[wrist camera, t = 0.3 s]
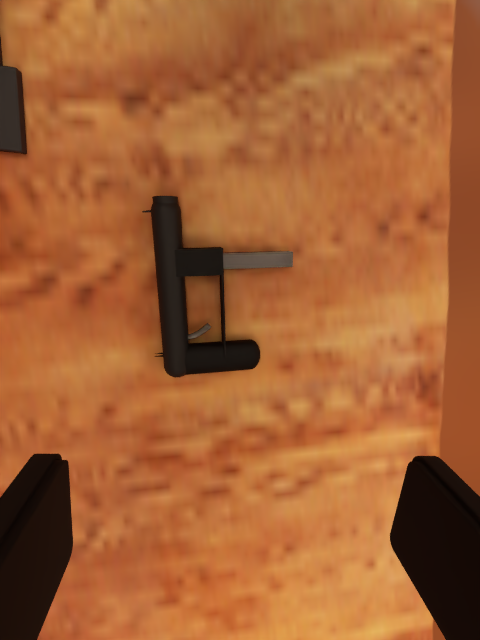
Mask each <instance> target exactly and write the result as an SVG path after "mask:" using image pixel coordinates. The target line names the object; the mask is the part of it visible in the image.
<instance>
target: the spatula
mask: <svg viewBox="0 0 480 640" xmlns="http://www.w3.org/2000/svg"><path fill="white" fill-rule="evenodd" d="M0 151H6V152H14V153H23V154H27V150H26V135H25V120H24V105H23V90H22V75H21V72H20V71H19V70H18V69H17V68H14V67H8V66H3V64H2V51H1V39H0Z"/></svg>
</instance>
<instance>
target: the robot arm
mask: <svg viewBox="0 0 480 640" xmlns="http://www.w3.org/2000/svg"><path fill="white" fill-rule="evenodd" d="M390 541H391V545H392V548H393V550H394V552H395V554H396V555H397V557H398V559H399V560H400V562H401V564H402V566H403V567H404V569H405V571H406V572H407V574H408V576H409V577H410V579H411V581H412V583H413V584H414V586H415V588H416V589H417V591H418V593H419V595H420V596H421V598H422V600H423V601H424V603H425V605H426V606H427V608H428V610H429V612H430V613H431V615H432V617H433V618H434V620H435V622H436V623H437V625H438V627H439V628H440V630H441V632H442V633H443V635H444V637H445V639H446V640H480V497H479V496H478V495H477V494H476V493H475V492H474V491H473V490H472V489H471V488H470V487H469V486H468V485H467V484H466V483H465V482H464V481H463V480H462V479H461V478H460V477H459V476H458V475H457V474H456V473H455V472H454V471H453V470H452V469H451V468H450V467H449V466H448V465H447V464H446V463H445V462H444V461H443V460H441V459H440V458H439V457H436V456H416V457H414V458H413V460H412V462H410V463H409V464H408V466H407V470H406V474H405V478H404V482H403V486H402V490H401V494H400V498H399V502H398V506H397V509H396V513H395V517H394V521H393V525H392V529H391V533H390ZM72 547H73V535H72V517H71V500H70V482H69V465H68V461H67V460H62V458H61V455H60V454H34V455H33V456H32V457H31V458H30V459H29V461H28V462H27V463H26V465H25V466H24V467H23V468H22V470H21V471H20V472H19V474H18V475H17V476H16V478H15V479H14V480H13V482H12V483H11V484H10V486H9V487H8V488H7V489H6V491H5V492H4V493H3V495H2V496H1V497H0V640H37V638H38V636H39V633H40V631H41V628H42V626H43V623H44V621H45V618H46V616H47V614H48V611H49V609H50V606H51V604H52V601H53V599H54V596H55V594H56V592H57V589H58V587H59V584H60V582H61V579H62V577H63V574H64V572H65V570H66V567H67V565H68V562H69V560H70V557H71V553H72Z"/></svg>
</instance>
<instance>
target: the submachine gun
mask: <svg viewBox="0 0 480 640" xmlns="http://www.w3.org/2000/svg"><path fill="white" fill-rule="evenodd" d="M152 198H153V204H152V207H151V209H150V210H146V211H142V212H151V216H152V228H153V240H154V252H155V263H156V275H157V287H158V299H159V311H160V323H161V335H162V347H163V353H157V354H163V355H161V356H154V357H163V359H164V368H165V371H166V372H167V373H168V374H169V375H170V376H172V377H181V376H183V375H187V374H199V373H211V372H223V371H236V370H248V369H253V368H255V367H256V366H257V364H258V362H259V359H260V350H259V347H258V345H257V343H256V342H255V341H253V340H237V341H225V307H224V269H243V268H271V267H292V265H293V252H291V251H271V252H232V253H223V248H221V247H209V248H183V242H182V226H181V210H180V207H179V204H178V197H176V196H154V197H152ZM214 275H220V302H221V334H222V342H208V343H193V344H189V341H188V340H189V339H193V338H196V337H198V336H200V335H202V334H203V333H205V332H206V331H207V330H209V329H210V328H211V326H210V325H209V324H208V323H207V324H206V325H205V326H203V327H202V328H201V329H199V330H198V331H196V332H194V333H192V334H189V335H188V324H187V308H186V291H185V277H187V276H214Z"/></svg>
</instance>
